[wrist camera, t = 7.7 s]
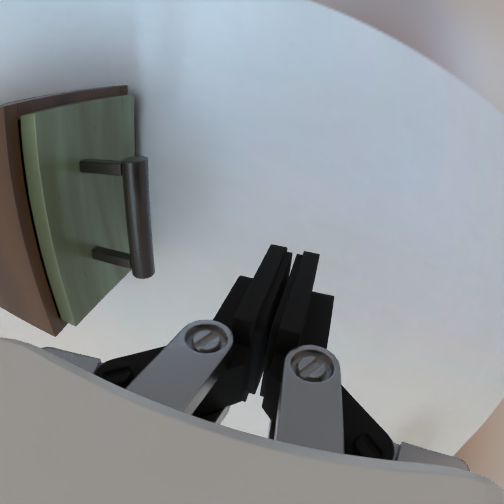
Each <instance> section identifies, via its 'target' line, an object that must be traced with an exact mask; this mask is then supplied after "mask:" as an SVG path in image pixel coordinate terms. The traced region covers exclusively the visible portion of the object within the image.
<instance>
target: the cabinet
mask: <svg viewBox="0 0 504 504" xmlns="http://www.w3.org/2000/svg"><path fill="white" fill-rule="evenodd" d="M117 95H127V85H123V86H111V87H101V88H92V89H83V90H76V91H69V92H62V93H56V94H50V95H44V96H39V97H33V98H28V99H24V100H19V101H14V102H10V103H6V104H2V105H0V307H1V308H3V309H5V310H7V311H8V312H10V313H12V314H13V315H15V316H17V317H19V318H21V319H22V320H24V321H26V322H28V323H30V324H31V325H33V326H35V327H37V328H39V329H41V330H43V331H45V332H47V333H49V334H51V335H53V336H55V337H56V336H57V335H58V334H59V333H60V332H61V331H62V330H63V328H64V327H65V326H66V325H67V324H68V323H67V322H65V321H63V320H62V319H61V316H60V313H59V310H58V307H57V304H56V301H55V298H54V296H53V297H52V296H51V293H50V289H49V286H48V283H47V280H46V276H45V273H44V269H43V266H42V262H41V258H40V255H39V251H38V247H37V243H36V239H35V234H34V230H33V225H32V221H31V216H30V211H29V206H28V200H27V195H26V189H25V182H24V176H23V168H22V161H21V152H20V142H19V130H18V120H20V116H21V115H23V114H27V113H31V112H35V111H39V110H43V109H47V108H52V107H56V106H61V105H65V104H70V103H75V102H81V101H86V100H92V99H98V98H104V97H110V96H117Z"/></svg>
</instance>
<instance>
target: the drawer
mask: <svg viewBox="0 0 504 504" xmlns="http://www.w3.org/2000/svg"><path fill="white" fill-rule="evenodd" d="M18 130H19V142H20V152H21V161H22V168H23V176H24V182H25V189H26V195H27V200H28V206H29V211H30V216H31V221H32V225H33V230H34V234H35V239H36V243H37V247H38V251H39V255H40V258H41V262H42V266H43V269H44V273H45V276H46V280H47V283H48V286H49V289H50V293H51V296H52V297H53V296H54V298H55V301H56V304H57V307H58V310H59V313H60V316H61V319H62V320H63V321H65V322H67V323H70V324H72V325H74V326H77V325H78V324H79V323H80V322H81V321H82V319H83V318H84V317H85V316H86V315H87V314H88V313H89V312H90V311H91V310H92V309H93V308H94V307H95V306H96V305H97V304H98V303H99V302H100V301H101V300H102V299H103V298H104V297H105V296H106V295H107V294H108V293H109V292H110V291H111V290H112V289H113V288H114V287H115V286H116V285H117V284H118V283H119V282H120V281H121V280H122V279H123V278H124V277H125V276H126V275H127V274H128V273H129V272H130V271H131V270H132V273H133V275H134V276H135V277H136V278H140V279H145V278H149V277H151V276H152V275H153V274H154V273H155V267H154V257H153V245H152V233H151V218H150V202H149V180H148V158H147V157H144V156H135V136H134V94H132V95H117V96H110V97H104V98H98V99H92V100H86V101H81V102H75V103H70V104H65V105H61V106H56V107H52V108H47V109H43V110H39V111H35V112H31V113H27V114H23V115H21V116H20V120H18Z"/></svg>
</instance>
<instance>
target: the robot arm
mask: <svg viewBox="0 0 504 504" xmlns="http://www.w3.org/2000/svg"><path fill="white" fill-rule="evenodd" d="M319 256H320V254H316V253H311V252H306V251H304V253H303V255H300V254H297V255H296V258H295V261H294V264H293V267H292V270H291V273H290V267H291V260H292V253H290V252H287V247H282V246H277V245H272V244H271V245H270V247H269V249H268V251H267V253H266V255H265V257H264V259H263V261H262V263H261V265H260V266H259V268H258V270H257V272H256V274H255V276H254V278H249V277H245V276H239V278H238V279H237V281H236V282H235V284H234V286H233V287H232V289H231V291H230V292H229V294H228V296H227V298H226V299H225V301H224V303H223V304H222V306H221V308H220V309H219V311H218V313H217V314H216V316H215V318H214V319H213V320H199V321H195V322H192V323H190V324H188V325H187V326H185V327H184V328H183V329H182V330H181V331H180V332H179V333H178V334H177V335H176V336H175V337H174V338H173V339H172V340H171V341H170V343H169V344H168V345H167V346H164V347H160V348H156V349H152V350H148V351H144V352H140V353H136V354H132V355H128V356H124V357H120V358H116V359H112V360H109V361H107V362H105V363H101V360H100V359H98V358H94V357H89V356H85V355H81V354H76V353H72V352H68V351H64V350H60V349H57V348H53V347H44V348H39V347H36V346H34V345H31V344H29V343H25V342H22V341H18V340H15V339H8V338H0V504H504V489H503V488H502V487H500V486H499V485H498V484H496V483H495V482H494V481H492V480H490V479H488V478H486V477H483V476H481V475H479V474H476V473H473V472H470V470H469V467H468V465H467V464H466V463H465V462H464V461H463V460H461V459H459V458H456V457H452V456H449V455H445V454H441V453H438V452H434V451H431V450H427V449H424V448H421V447H417V446H414V445H411V444H408V443H405V442H402V443H401V444H400V445H399V444H396V443H393V442H392V440H391V438H390V437H389V436H388V434H387V433H386V432H385V431H384V430H383V429H382V428H381V427H380V426H379V425H378V424H377V423H376V421H375V420H374V419H373V418H372V417H371V416H370V415H369V414H368V413H367V412H366V411H365V410H364V409H363V408H362V407H361V405H360V404H359V403H358V402H357V401H356V400H355V399H354V398H353V397H352V396H351V395H350V394H349V393H348V391H347V390H346V389H345V388H344V387H343V386H342V385H341V374H340V365H339V362H338V360H337V358H336V357H335V356H334V354H332V353H331V352H330V351H329V350H327V343H328V337H329V330H330V323H331V316H332V309H333V302H334V296H331V295H326V294H322V293H317V292H312V289H313V284H314V280H315V275H316V270H317V265H318V261H319ZM289 273H290V275H289ZM263 371H264V373H263ZM262 374H263V379H262V385H261V391H260V396H263V397H264V399H263V404H262V408H263V409H264V411H265V412H266V414H267V415H268V416H269V418H270V419H271V420H270V425H269V432H268V438H264V437H261V436H257V435H253V434H249V433H246V432H242V431H239V430H235V429H232V428H229V427H225V426H222V425H220V424H221V422H222V421H223V419H224V418H225V416H226V415H227V413H228V411H229V409H230V405H233V404H235V403H238V402H241V401H244V402H246V399H247V396H248V394H249V393H252V394H255V393H256V390H257V388H258V385H259V382H260V379H261V377H262Z"/></svg>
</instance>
